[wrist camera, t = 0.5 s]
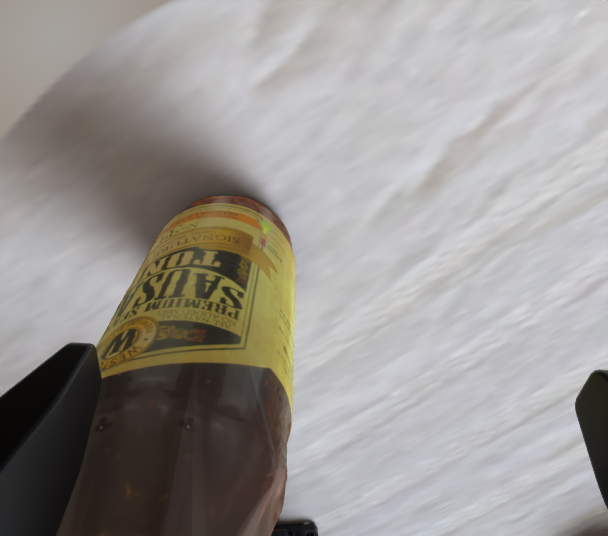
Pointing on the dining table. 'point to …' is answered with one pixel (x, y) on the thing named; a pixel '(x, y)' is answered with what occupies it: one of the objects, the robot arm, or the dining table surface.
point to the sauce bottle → (195, 384)
